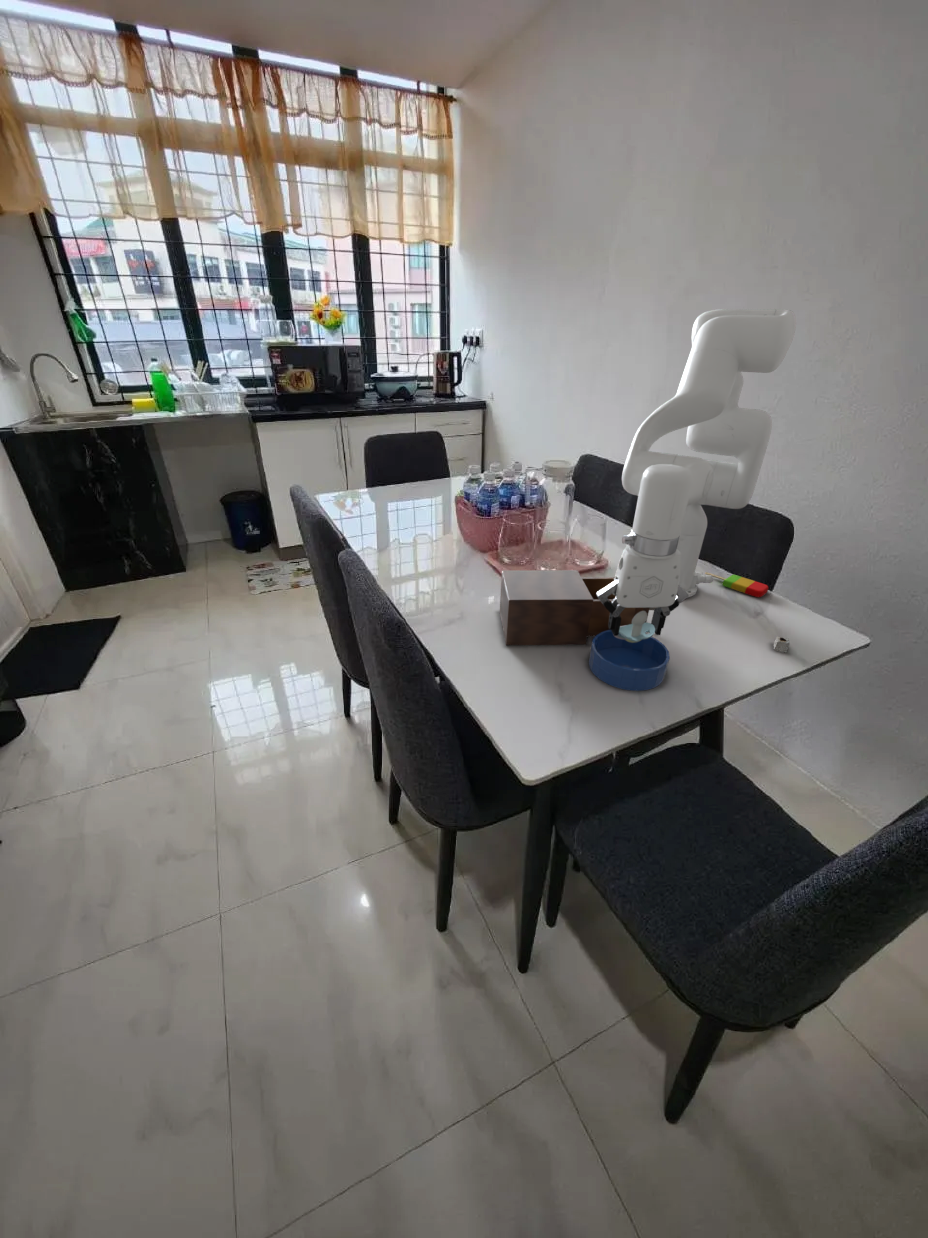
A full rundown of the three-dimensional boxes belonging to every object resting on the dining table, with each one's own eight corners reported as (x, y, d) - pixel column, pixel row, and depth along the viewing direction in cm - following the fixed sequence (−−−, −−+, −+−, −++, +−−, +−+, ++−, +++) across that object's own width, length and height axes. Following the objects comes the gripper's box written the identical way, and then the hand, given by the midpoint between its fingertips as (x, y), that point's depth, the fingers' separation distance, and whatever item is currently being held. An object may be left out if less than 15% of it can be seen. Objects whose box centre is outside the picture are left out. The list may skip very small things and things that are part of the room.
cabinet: (571, 612, 115) (577, 570, 110) (586, 644, 103) (593, 599, 98) (499, 612, 114) (501, 570, 109) (505, 645, 103) (509, 599, 97)
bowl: (648, 647, 103) (653, 628, 100) (676, 690, 91) (682, 670, 88) (581, 648, 102) (584, 629, 100) (599, 691, 90) (603, 671, 88)
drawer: (648, 609, 115) (656, 574, 110) (669, 638, 104) (679, 601, 100) (556, 610, 114) (561, 575, 109) (568, 639, 103) (573, 602, 99)
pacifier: (604, 634, 94) (627, 649, 90) (609, 604, 91) (632, 619, 87) (634, 625, 97) (657, 639, 93) (640, 596, 94) (664, 610, 89)
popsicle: (760, 599, 122) (762, 592, 121) (699, 579, 131) (701, 572, 130) (768, 592, 125) (770, 585, 124) (708, 573, 134) (710, 566, 133)
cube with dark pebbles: (774, 650, 102) (778, 640, 101) (773, 645, 104) (777, 634, 103) (786, 652, 102) (790, 642, 100) (785, 647, 103) (789, 637, 102)
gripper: (608, 552, 80) (593, 643, 89) (715, 550, 81) (689, 641, 90) (596, 534, 86) (583, 621, 96) (695, 532, 87) (672, 619, 96)
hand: (634, 630), depth 93 cm, fingers closed on pacifier, 7 cm apart
